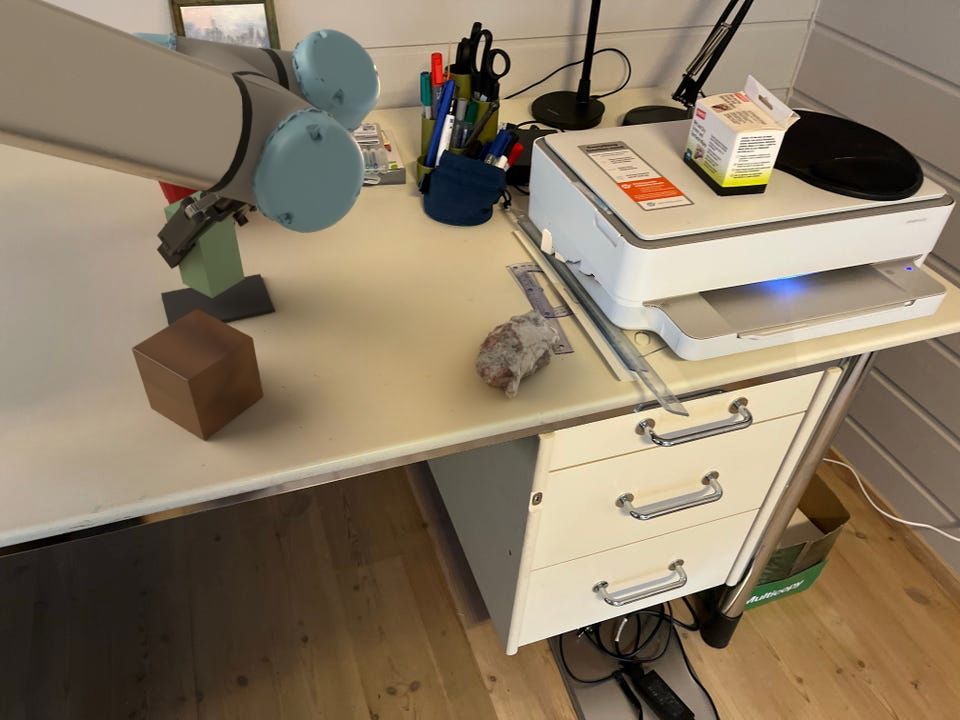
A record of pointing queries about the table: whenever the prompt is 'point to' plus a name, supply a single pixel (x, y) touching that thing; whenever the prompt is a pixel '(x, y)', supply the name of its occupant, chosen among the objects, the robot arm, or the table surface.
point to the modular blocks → (549, 245)
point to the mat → (221, 301)
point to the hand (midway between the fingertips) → (186, 247)
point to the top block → (211, 257)
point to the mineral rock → (515, 351)
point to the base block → (199, 373)
